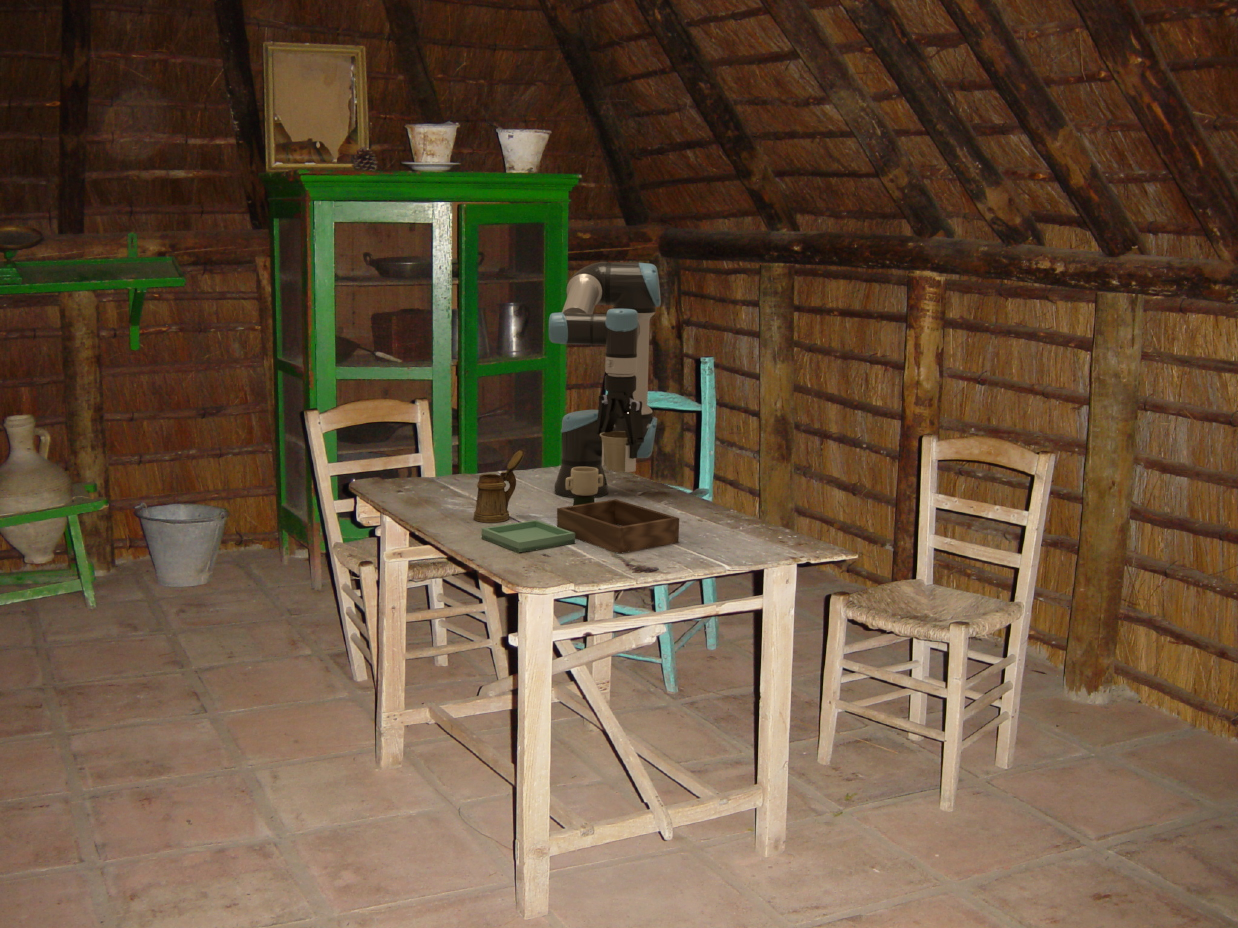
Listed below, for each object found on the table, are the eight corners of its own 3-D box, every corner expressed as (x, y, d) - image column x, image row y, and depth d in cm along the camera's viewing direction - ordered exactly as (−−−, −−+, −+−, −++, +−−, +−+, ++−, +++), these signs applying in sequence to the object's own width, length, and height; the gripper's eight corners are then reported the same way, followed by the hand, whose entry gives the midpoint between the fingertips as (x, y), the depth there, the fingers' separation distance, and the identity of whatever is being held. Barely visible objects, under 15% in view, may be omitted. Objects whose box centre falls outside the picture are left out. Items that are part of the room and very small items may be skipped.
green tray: (536, 529, 300) (536, 519, 300) (574, 543, 288) (575, 532, 287) (481, 538, 290) (481, 528, 290) (519, 553, 278) (519, 542, 278)
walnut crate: (615, 522, 310) (615, 499, 308) (678, 542, 291) (679, 518, 290) (556, 531, 298) (557, 508, 297) (618, 553, 280) (619, 528, 278)
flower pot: (610, 474, 285) (611, 438, 284) (592, 467, 293) (593, 432, 292) (645, 471, 289) (646, 436, 288) (626, 464, 298) (627, 430, 296)
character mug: (595, 513, 319) (596, 464, 316) (608, 519, 313) (609, 469, 310) (558, 517, 313) (559, 468, 311) (571, 523, 307) (572, 473, 305)
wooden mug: (530, 520, 309) (530, 451, 306) (478, 523, 304) (479, 453, 301) (519, 512, 318) (520, 445, 314) (469, 516, 312) (469, 447, 309)
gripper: (581, 370, 293) (579, 462, 297) (636, 380, 277) (634, 477, 281) (605, 369, 297) (603, 459, 302) (661, 378, 281) (658, 474, 286)
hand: (618, 468), depth 291 cm, fingers closed on flower pot, 8 cm apart
